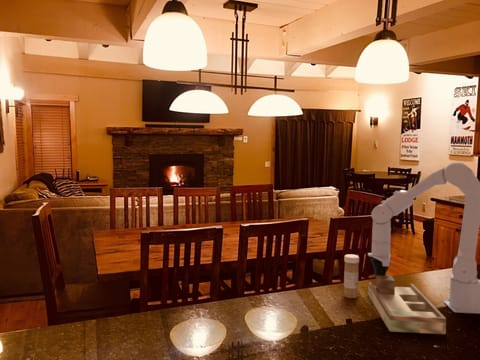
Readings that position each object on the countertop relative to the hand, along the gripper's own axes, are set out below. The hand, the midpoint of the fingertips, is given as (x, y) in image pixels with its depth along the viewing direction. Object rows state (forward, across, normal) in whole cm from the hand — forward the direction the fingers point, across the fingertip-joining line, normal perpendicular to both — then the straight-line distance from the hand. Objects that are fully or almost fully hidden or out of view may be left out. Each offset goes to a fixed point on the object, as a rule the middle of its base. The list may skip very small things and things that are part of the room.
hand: (379, 281), depth 130 cm
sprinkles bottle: (+4, +4, -10) cm, 12 cm away
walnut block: (+1, +7, 0) cm, 7 cm away
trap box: (+4, +15, +3) cm, 16 cm away
